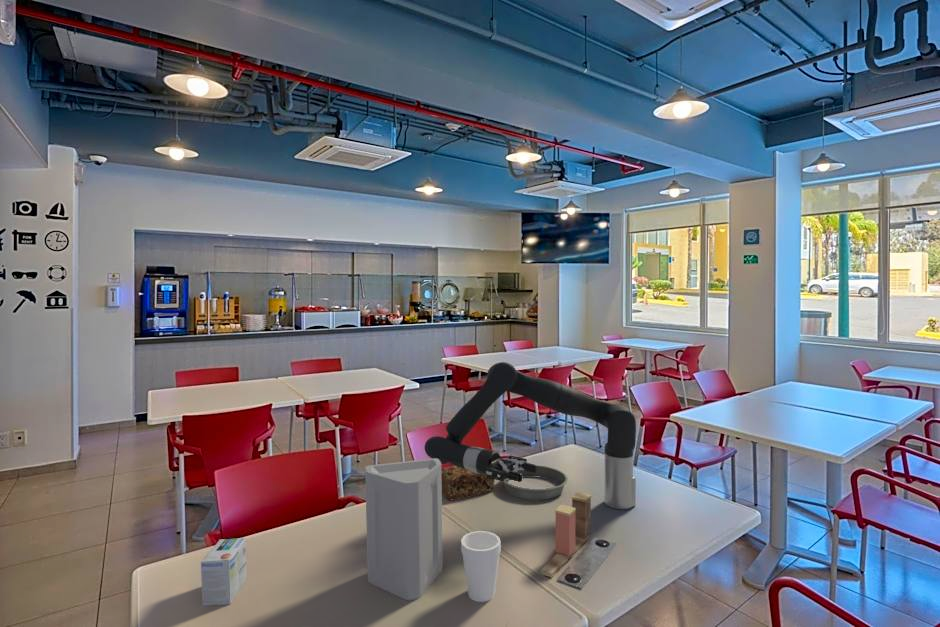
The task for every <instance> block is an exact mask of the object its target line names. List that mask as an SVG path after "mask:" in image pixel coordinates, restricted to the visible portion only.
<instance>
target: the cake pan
mask: <svg viewBox="0 0 940 627" xmlns="http://www.w3.org/2000/svg"><path fill="white" fill-rule="evenodd" d="M535 465H536V466H537V472H535V473H533V472H529V471H525V470H518V471H517V472H518V473H521V474H522V476H540V477H545V478H544V479H546V478H548V479H547V480H550V479H551V481H553V480H554V481H553V482H555V481H556V482H555V483H556V484H558V483H559V485H556V486H553V487H552V486H549V487H550V488H546V489H529V488H522V487H518V486H514V485H512V484H509V483H508V481H509V480H511V479H509V480H506V479H504V481H502V482H503V486H504V489H506V490H505V491H506V492H507V493H508V494H510V495H511V494H512V496H514V497H516V496H517V497H516V498H519V497H520V499H525V500H535V501H537V500H540V501H541V499H542V500H548V499H553V498H556V497H558V496H559V495H561V494H562V493H563V491H564V488H565V485H567V483H568V480H569V479H568V476H567V475H566V474H565V473H564V472H563V471H562V470H560V469H557V468H553V467H550V466H546V465H538V464H535ZM513 468H515V466H513ZM540 477H539V478H540ZM551 487H552V488H551Z"/></svg>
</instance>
